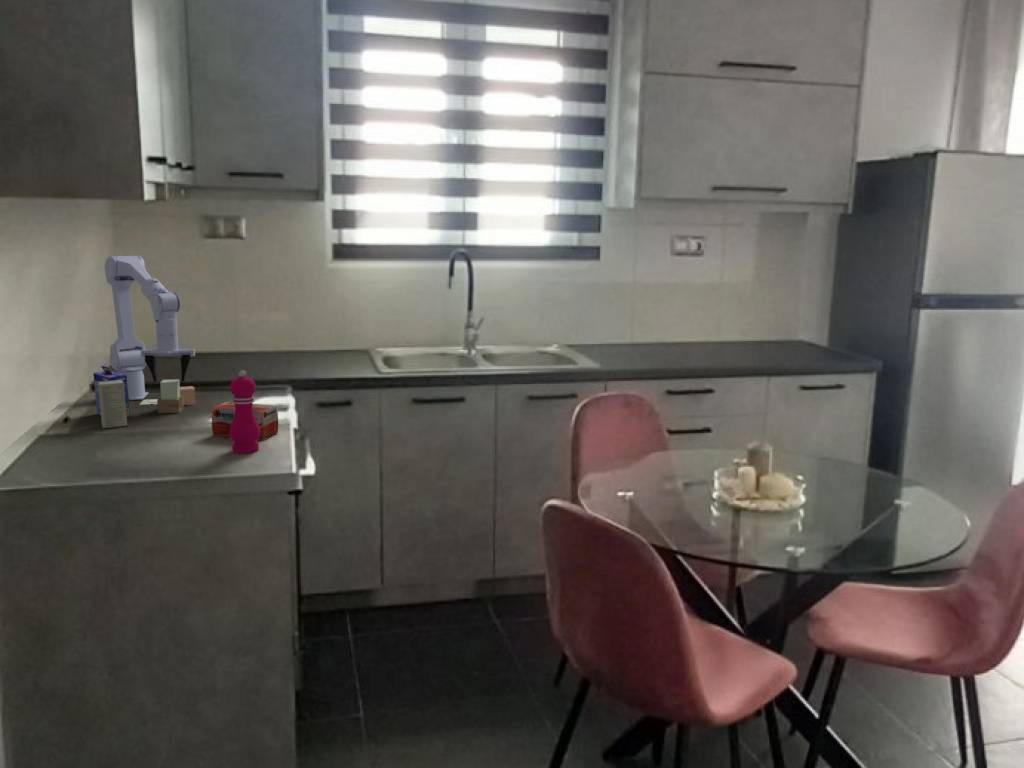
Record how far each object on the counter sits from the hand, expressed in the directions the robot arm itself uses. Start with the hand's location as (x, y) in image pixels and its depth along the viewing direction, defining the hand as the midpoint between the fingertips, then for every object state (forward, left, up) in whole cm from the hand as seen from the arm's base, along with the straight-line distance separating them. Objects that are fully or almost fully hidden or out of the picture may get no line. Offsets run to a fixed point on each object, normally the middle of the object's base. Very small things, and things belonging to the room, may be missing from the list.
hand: (169, 380), depth 253 cm
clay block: (-9, +3, -9) cm, 13 cm away
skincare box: (+17, -12, -9) cm, 23 cm away
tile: (-12, -7, -9) cm, 16 cm away
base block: (0, 0, -9) cm, 9 cm away
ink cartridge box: (+4, -15, -9) cm, 18 cm away
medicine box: (+32, +24, -9) cm, 41 cm away
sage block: (0, 0, -5) cm, 5 cm away
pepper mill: (+48, +25, -9) cm, 55 cm away
